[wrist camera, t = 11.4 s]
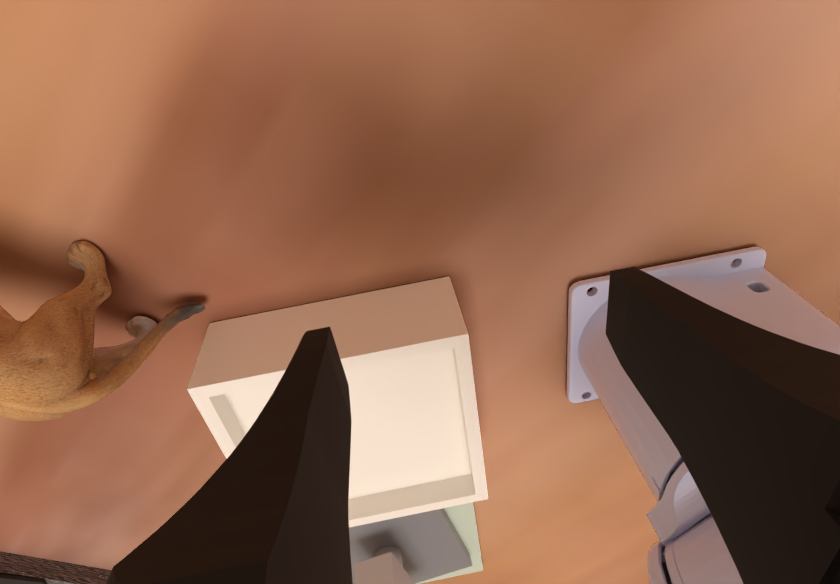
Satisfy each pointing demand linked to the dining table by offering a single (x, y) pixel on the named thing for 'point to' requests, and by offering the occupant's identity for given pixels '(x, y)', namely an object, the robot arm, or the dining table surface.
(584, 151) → the dining table surface
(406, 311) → the tray
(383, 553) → the grey cover
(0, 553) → the picture frame
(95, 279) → the lion figurine
